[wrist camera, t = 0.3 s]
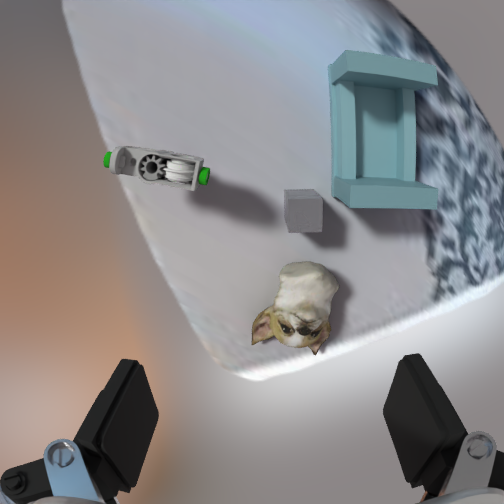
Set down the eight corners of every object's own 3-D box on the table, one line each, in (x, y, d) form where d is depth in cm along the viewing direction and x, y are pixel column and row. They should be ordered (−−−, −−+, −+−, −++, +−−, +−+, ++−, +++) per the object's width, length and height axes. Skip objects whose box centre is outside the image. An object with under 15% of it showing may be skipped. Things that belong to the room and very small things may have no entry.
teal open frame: (327, 66, 30) (345, 47, 22) (403, 75, 29) (435, 63, 21) (331, 195, 35) (349, 211, 28) (404, 196, 35) (436, 212, 27)
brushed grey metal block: (284, 189, 35) (288, 199, 30) (313, 189, 35) (322, 198, 30) (284, 218, 37) (288, 232, 31) (313, 217, 36) (322, 232, 31)
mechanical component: (143, 142, 34) (104, 144, 24) (223, 155, 34) (208, 161, 25) (139, 165, 35) (100, 175, 25) (218, 179, 35) (202, 194, 26)
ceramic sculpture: (370, 290, 30) (324, 384, 36) (351, 255, 38) (317, 342, 44) (272, 270, 30) (244, 373, 36) (271, 238, 37) (248, 331, 44)
